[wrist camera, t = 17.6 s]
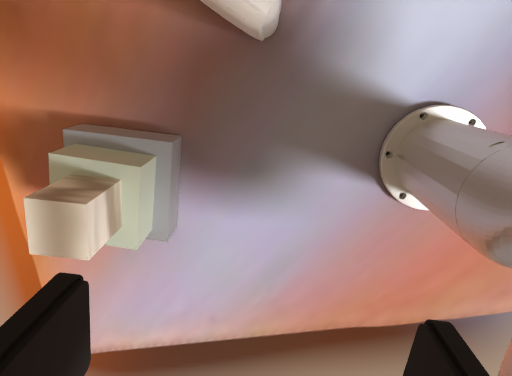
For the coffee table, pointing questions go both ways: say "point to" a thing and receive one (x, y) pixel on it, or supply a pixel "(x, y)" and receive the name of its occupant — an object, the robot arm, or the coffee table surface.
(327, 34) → the coffee table surface
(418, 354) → the robot arm
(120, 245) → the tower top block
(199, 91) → the coffee table surface
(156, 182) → the tower bottom block
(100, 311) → the coffee table surface
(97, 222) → the ash block
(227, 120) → the coffee table surface
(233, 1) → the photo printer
